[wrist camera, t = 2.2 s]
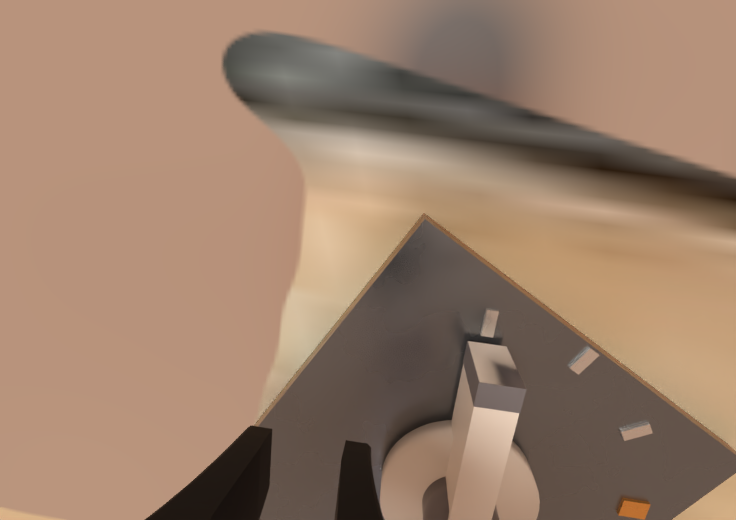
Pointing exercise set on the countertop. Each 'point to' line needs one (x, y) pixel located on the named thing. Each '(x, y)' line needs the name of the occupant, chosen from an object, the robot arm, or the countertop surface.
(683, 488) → the dial plate
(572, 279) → the countertop surface
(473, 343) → the dial
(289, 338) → the countertop surface
